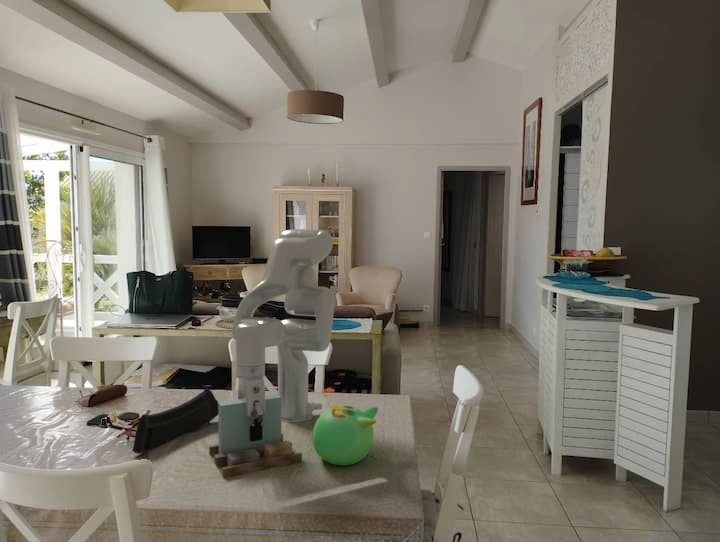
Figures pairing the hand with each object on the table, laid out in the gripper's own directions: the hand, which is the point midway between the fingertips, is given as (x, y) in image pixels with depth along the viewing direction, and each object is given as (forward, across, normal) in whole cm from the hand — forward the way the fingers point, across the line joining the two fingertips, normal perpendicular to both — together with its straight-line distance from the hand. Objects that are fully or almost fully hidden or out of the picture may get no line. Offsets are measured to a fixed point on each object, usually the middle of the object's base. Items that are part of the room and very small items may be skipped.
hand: (250, 433), depth 139 cm
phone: (+6, +41, +30) cm, 51 cm away
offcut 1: (+5, -8, +4) cm, 10 cm away
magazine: (+6, +21, +14) cm, 26 cm away
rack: (+6, -4, 0) cm, 7 cm away
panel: (+5, 0, 0) cm, 5 cm away
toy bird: (+6, -14, -21) cm, 26 cm away
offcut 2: (+5, -8, -5) cm, 10 cm away
